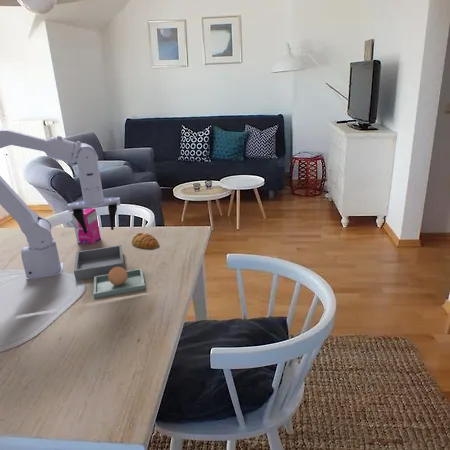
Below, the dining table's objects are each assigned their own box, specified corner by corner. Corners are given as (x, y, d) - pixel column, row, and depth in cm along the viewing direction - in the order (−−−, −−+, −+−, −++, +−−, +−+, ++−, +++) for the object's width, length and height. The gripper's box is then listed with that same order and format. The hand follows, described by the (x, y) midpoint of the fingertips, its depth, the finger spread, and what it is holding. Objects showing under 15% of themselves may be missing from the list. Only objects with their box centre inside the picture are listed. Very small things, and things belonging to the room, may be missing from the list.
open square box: (76, 282, 115) (73, 271, 114) (78, 261, 127) (76, 251, 126) (125, 274, 118) (123, 263, 117) (123, 255, 130) (121, 244, 129)
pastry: (164, 246, 135) (163, 235, 134) (148, 254, 130) (147, 243, 129) (145, 240, 141) (144, 229, 139) (129, 247, 136) (128, 236, 135)
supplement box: (77, 244, 140) (70, 213, 135) (87, 238, 145) (81, 207, 141) (91, 246, 138) (85, 213, 134) (101, 239, 143) (96, 207, 139)
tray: (94, 300, 105) (93, 294, 105) (95, 281, 114) (94, 276, 114) (145, 290, 108) (144, 285, 108) (142, 273, 117) (141, 268, 117)
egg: (110, 290, 108) (107, 274, 106) (109, 281, 113) (106, 265, 111) (129, 286, 110) (126, 270, 108) (127, 278, 114) (124, 261, 112)
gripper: (63, 193, 113) (73, 239, 118) (117, 187, 117) (124, 231, 122) (65, 187, 120) (74, 230, 125) (116, 181, 123) (123, 223, 128)
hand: (99, 230), depth 123 cm, fingers open, 7 cm apart
